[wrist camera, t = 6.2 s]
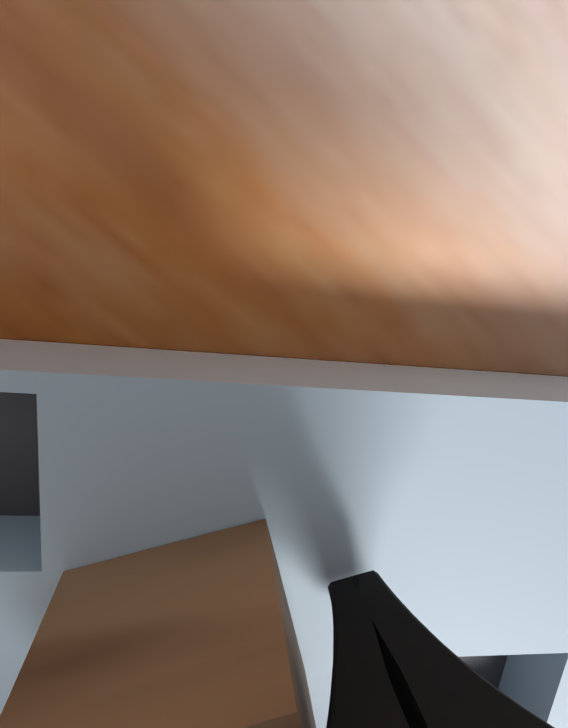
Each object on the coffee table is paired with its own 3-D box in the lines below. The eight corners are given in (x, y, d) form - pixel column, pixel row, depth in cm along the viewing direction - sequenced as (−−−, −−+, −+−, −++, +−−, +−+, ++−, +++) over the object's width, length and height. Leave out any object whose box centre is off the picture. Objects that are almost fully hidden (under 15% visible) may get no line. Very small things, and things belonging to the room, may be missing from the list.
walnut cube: (304, 669, 14) (351, 910, 9) (126, 719, 13) (75, 997, 9) (265, 518, 12) (297, 712, 7) (63, 571, 12) (-41, 808, 7)
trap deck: (537, 701, 19) (583, 769, 17) (-243, 741, 15) (-330, 841, 12) (637, 381, 16) (714, 410, 13) (-345, 315, 11) (-492, 341, 9)
